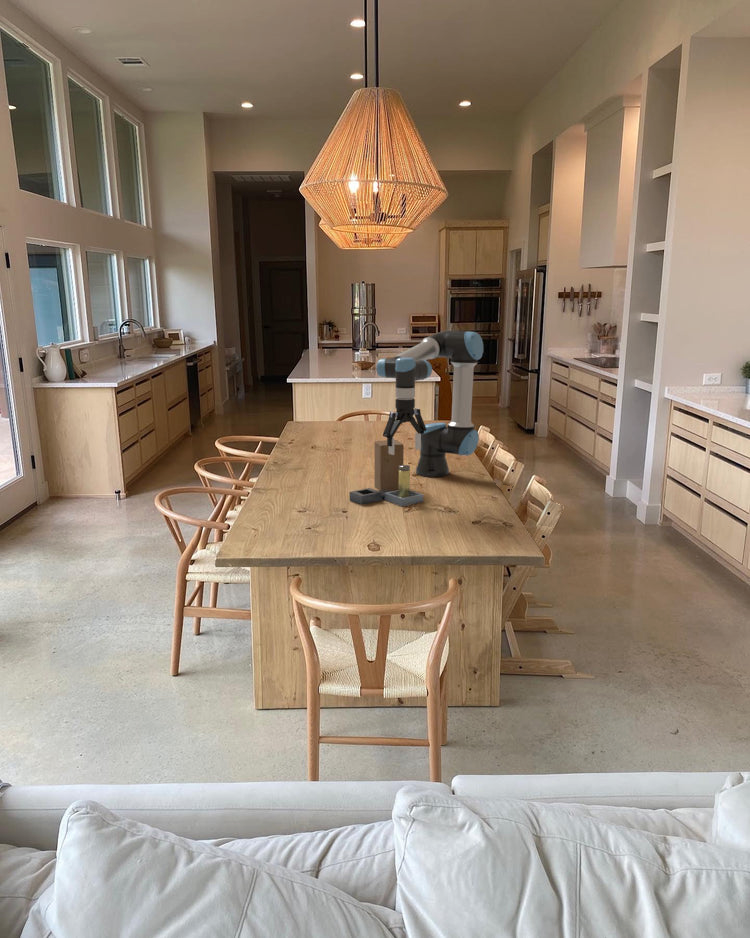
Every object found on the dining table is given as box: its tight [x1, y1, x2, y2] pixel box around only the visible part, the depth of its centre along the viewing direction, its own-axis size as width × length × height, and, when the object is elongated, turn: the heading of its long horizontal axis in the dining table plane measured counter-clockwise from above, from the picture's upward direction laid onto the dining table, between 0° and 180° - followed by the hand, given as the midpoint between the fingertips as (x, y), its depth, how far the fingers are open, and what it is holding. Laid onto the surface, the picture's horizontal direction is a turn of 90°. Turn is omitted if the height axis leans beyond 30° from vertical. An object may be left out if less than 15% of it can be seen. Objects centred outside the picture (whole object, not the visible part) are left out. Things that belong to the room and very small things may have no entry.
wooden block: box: [373, 439, 405, 491], centre depth 310 cm, size 10×10×20 cm
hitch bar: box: [349, 487, 392, 506], centre depth 296 cm, size 18×8×4 cm, turn 128°
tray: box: [384, 489, 424, 507], centre depth 293 cm, size 11×11×3 cm
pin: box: [399, 464, 411, 498], centre depth 292 cm, size 4×4×14 cm
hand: (404, 451), depth 289 cm, fingers open, 13 cm apart
